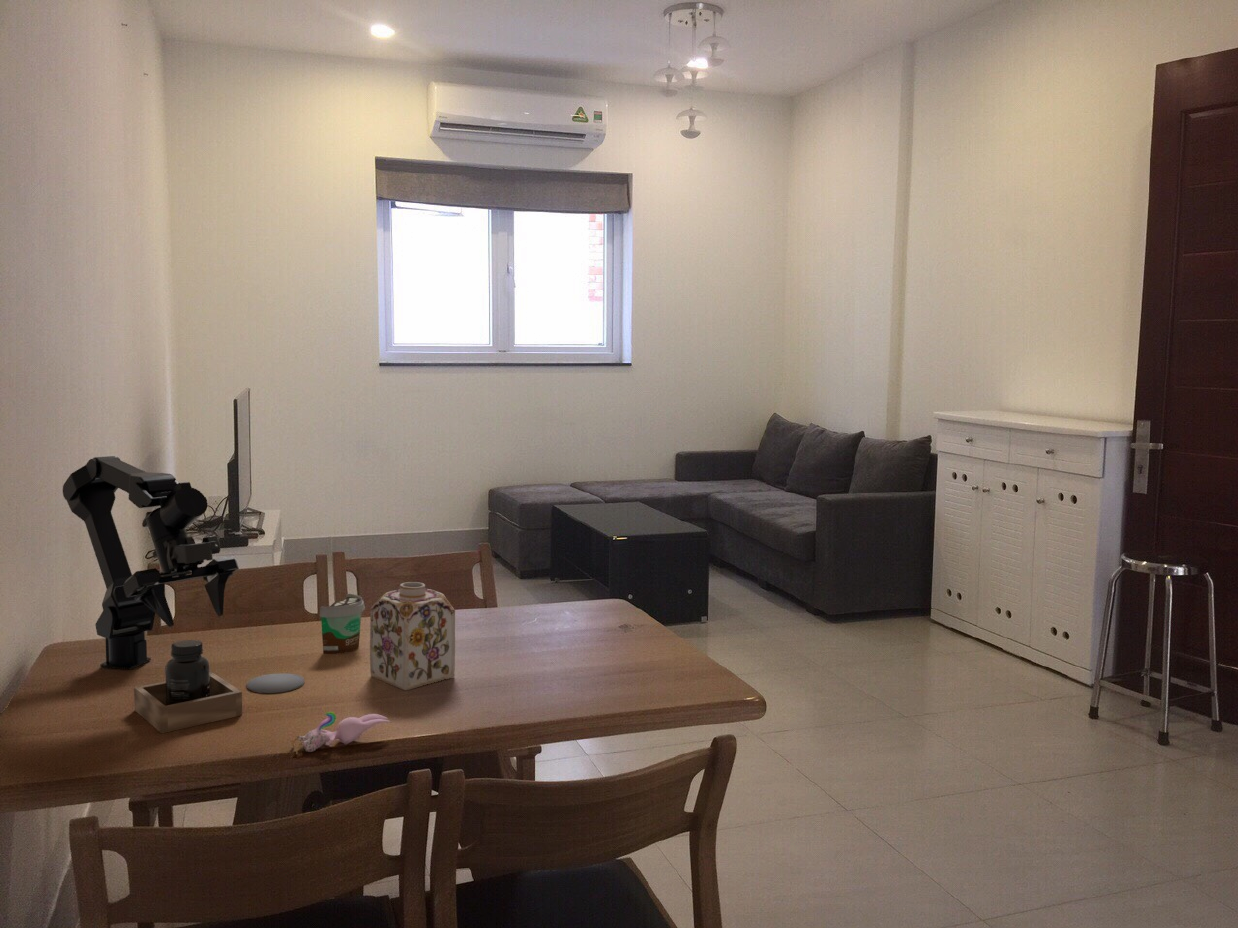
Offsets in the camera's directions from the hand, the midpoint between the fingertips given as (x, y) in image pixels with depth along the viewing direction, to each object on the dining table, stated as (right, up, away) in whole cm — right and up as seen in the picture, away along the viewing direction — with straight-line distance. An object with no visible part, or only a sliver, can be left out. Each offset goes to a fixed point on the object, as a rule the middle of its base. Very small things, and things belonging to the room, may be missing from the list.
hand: (196, 620), depth 177 cm
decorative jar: (+35, -13, +14) cm, 40 cm away
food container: (+18, -11, +31) cm, 37 cm away
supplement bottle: (+2, -15, -7) cm, 16 cm away
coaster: (+11, -13, +8) cm, 19 cm away
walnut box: (+2, -14, -7) cm, 16 cm away
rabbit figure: (+30, -17, -18) cm, 39 cm away
